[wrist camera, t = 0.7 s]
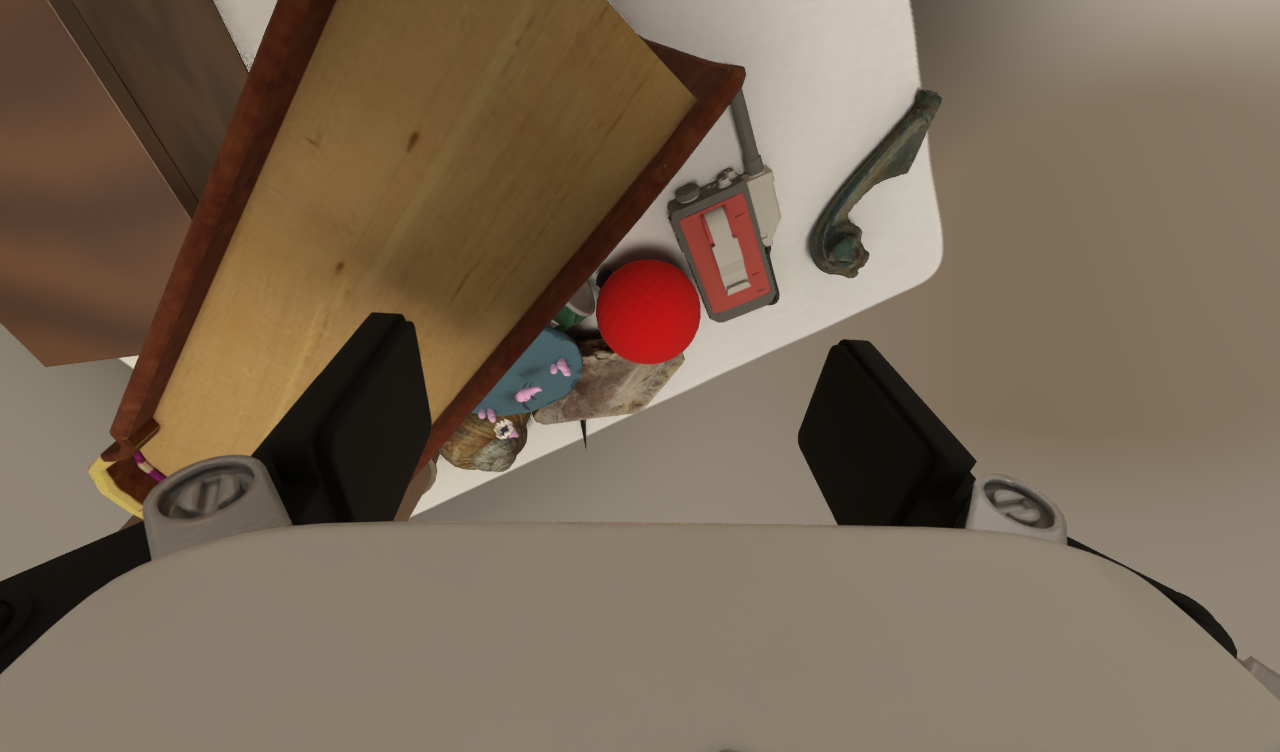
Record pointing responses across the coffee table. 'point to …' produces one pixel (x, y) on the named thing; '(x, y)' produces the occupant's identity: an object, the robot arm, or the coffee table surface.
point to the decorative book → (403, 208)
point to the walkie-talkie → (731, 231)
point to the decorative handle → (835, 233)
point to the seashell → (485, 443)
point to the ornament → (647, 311)
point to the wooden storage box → (103, 162)
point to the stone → (608, 386)
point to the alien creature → (533, 380)
